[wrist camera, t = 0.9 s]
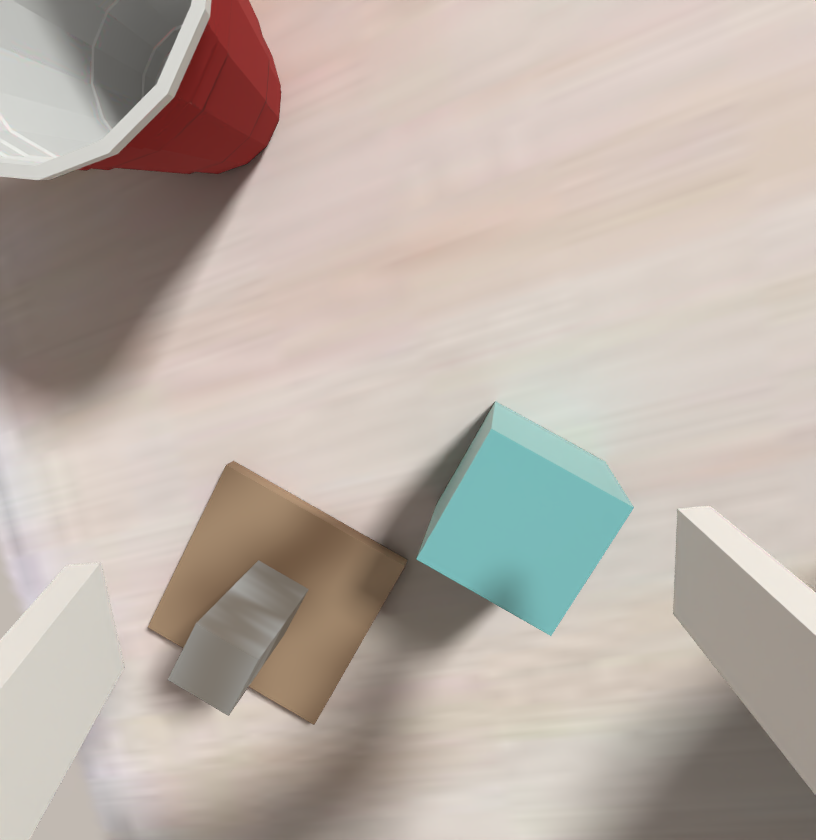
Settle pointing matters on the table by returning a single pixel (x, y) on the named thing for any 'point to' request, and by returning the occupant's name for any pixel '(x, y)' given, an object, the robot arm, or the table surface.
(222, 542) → the peg stand
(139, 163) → the plastic cup
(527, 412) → the table surface
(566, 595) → the teal rectangular block
